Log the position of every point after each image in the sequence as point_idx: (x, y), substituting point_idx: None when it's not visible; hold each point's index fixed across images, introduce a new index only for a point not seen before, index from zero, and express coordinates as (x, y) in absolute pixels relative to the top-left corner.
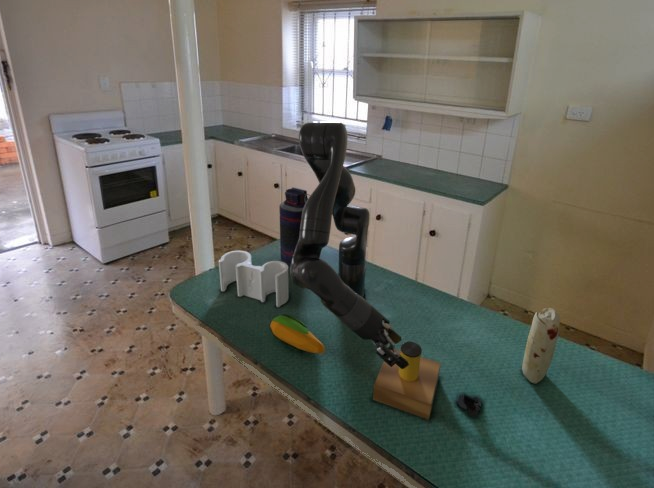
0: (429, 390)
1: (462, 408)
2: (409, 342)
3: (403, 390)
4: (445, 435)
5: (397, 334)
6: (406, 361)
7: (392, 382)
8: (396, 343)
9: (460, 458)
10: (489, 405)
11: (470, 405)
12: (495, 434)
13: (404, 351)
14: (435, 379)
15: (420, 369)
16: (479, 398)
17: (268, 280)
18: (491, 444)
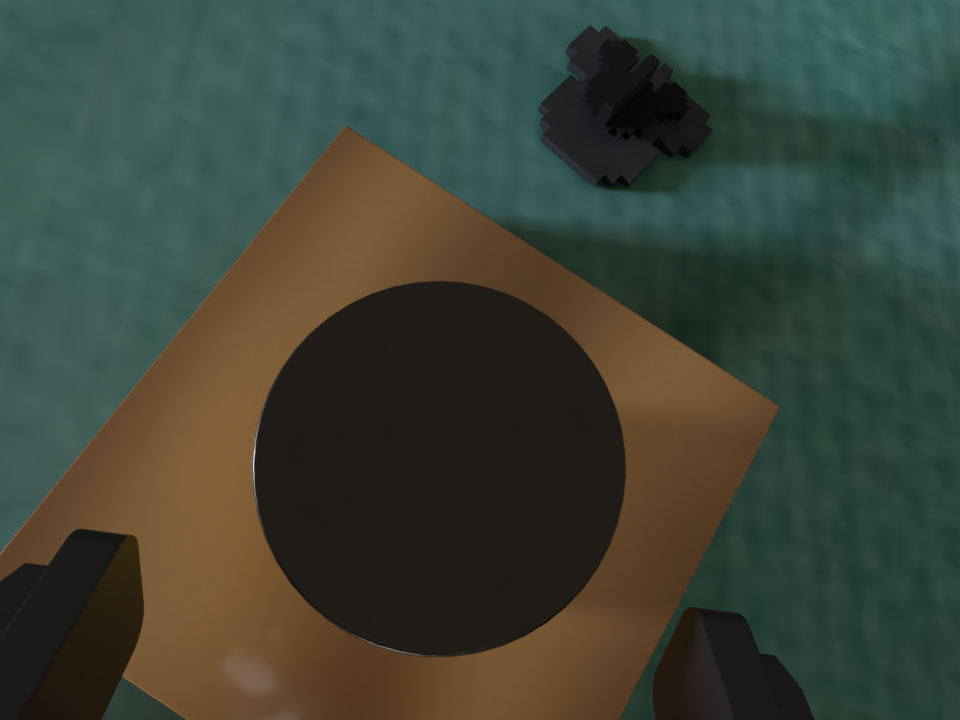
0: (640, 362)
1: (641, 171)
2: (288, 433)
3: (616, 613)
4: (815, 370)
5: (39, 638)
6: (749, 662)
7: (509, 704)
8: (140, 620)
9: (957, 348)
10: (630, 3)
11: (661, 111)
12: (819, 80)
13: (499, 613)
14: (529, 257)
15: None
16: (587, 29)
17: None
18: (877, 135)
